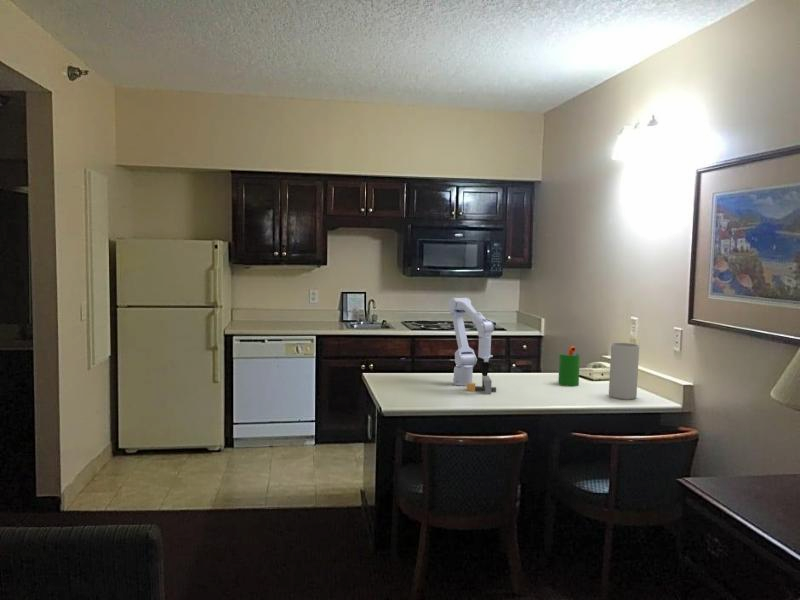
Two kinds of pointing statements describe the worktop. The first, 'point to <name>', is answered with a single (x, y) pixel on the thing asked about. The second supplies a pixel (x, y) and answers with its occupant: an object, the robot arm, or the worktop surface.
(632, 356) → the cylinder vase
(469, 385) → the plug
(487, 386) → the bracket
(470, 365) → the robot arm
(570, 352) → the green upright cylinder
